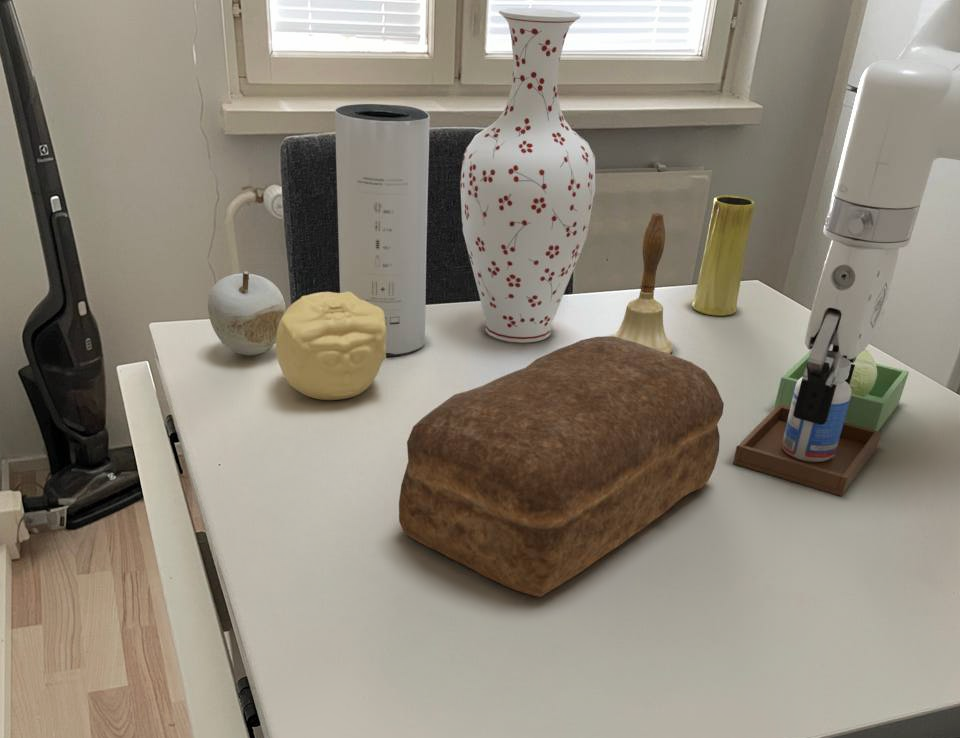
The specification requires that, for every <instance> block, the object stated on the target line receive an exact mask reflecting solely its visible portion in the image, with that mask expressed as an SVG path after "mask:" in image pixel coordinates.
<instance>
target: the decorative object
mask: <svg viewBox="0 0 960 738" xmlns="http://www.w3.org/2000/svg"><path fill="white" fill-rule="evenodd" d="M207 311H208V316H209V321H210V324H211V327H212V330H213V331H214V333H215V335H216V336H217V338H218V339H219V341H220V342H221V343H222V345H224V346H225V347H226V348H227V349H229V350H231V351H232V352H234V353H236V354H239V355H242V356H256V355H261V354H263V353H265V352H267V351H269V350H271V348H273V346H274V345H276V334H277V329H278V325H279V322H280V320H281V318H282V316H283V314H284V313H285V311H286V302H285V299H284V297H283V294H282V292H281V291H280V289H279V288H278V287H277V285H275V284H274V283H273V282H272V281H271V280H270V279H268V278H266V277H263V276H261V275H258V274H254V273H253V274H252V273H250V272H249V271H248V270H244V271H243V272H242V273H234V274H231V275H228V276H225V277H223V278H221V279H220V280H218V281H217V282H216V283H215V284H214V285H213V287H212V288H211V290H210V292H209V295H208V300H207Z"/></svg>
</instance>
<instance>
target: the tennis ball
mask: <svg viewBox="0 0 960 738" xmlns="http://www.w3.org/2000/svg"><path fill="white" fill-rule="evenodd" d="M875 363H876V361H875V359H874V358H873V355H872V354H871V353H870V352H869V351H868V350H867V349H866V348H865V349H864V350H863V351H862V352H861V353H860V354H859V355H858V356H857V357H856V360H855V362H854V363H851V364H854V365H855V367H854V371H853V374H852V378H851V381H850V387H851V394H855V395H859V396H863V397H866V396H867V395H868V394H869V393H870V391H871V390H872V388H873V386H874V384H875V381H876V378H877V368H876V364H877V363H876V364H875Z"/></svg>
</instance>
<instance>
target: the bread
mask: <svg viewBox="0 0 960 738" xmlns="http://www.w3.org/2000/svg"><path fill="white" fill-rule="evenodd" d="M724 405H725V403H724V401H723V399H722V397H721V394H720V392H719V390H718V387H717V386H716V384H715V383H714V381H713V379H712V378H711V376H710V375H709V373H708V372H707V371H706V370H704V369H703V368H702V367H700V366H698V365H697V364H695V363H693V362H692V361H689V360H686V359H685V358H681V357H678V356H675V355H673V354H672V353H670V354H668V353H665V352H661V351H658V350H655V349H653V348H650V347H647V346H644V345H641V344H639V343H635V342H632V341H628V340H625V339H621V338H618V337H614V336H612V335H608V336H607V335H606V336H594V337H589V338H585V339H581V340H579V341H576V342H573V343H571V344H569V345H566V346H563V347H560V348H557V349H556V350H554V351H551V352H548V353H547V354H544V355H543V356H540V357H538V358H536V359H535V360H533V361H532V362H531V363H530V364H528V365H527V366H525V367H523V368H520V369H518V370H515V371H513V372H509V373H507V374H505V375H503V376H500V377H498V378H495V379H493V380H491V381H489V382H488V383H485V384H483V385H480V386H478V387H475V388H473V389H469V390H467V391H462V392H458V393H456V394H453V395H452V396H450V397H449V398H448V399H446V400H445V401H443V402H442V403H441V404H439V405H438V406H436V407H435V408H434V409H432V410H431V411H430V412H428V413H427V414H426V415H425V416H423V417H422V418H420V420H419V421H418V422H417V423H415V424H414V425H413V426H412V429H411V431H410V434H409V436H408V439H407V441H406V448H407V449H406V450H407V464H406V468H405V471H404V474H403V478H402V481H401V484H400V491H399V492H400V493H399V499H398V522H399V524H400V527H401V529H402V533H404V534H405V535H406V536H408V537H409V538H411V539H413V540H414V541H416V542H418V543H420V544H422V545H423V546H425V547H428V548H429V549H431V550H434V551H436V552H437V553H439V554H441V555H443V556H445V557H448V558H449V559H451V560H453V561H455V562H457V563H459V564H461V565H463V566H465V567H467V568H469V569H471V570H473V571H475V572H476V573H478V574H480V575H482V576H484V577H486V578H487V579H490V580H492V581H493V582H496V583H498V584H500V585H503V586H504V587H507V588H509V589H511V590H513V591H516V592H519V593H523V594H525V595H530V596H534V597H537V598H541V597H543V596H544V595H546V594H547V593H549V592H551V591H552V590H554V589H556V588H557V587H560V586H561V585H563V584H565V583H566V582H567V581H569V580H570V579H572V578H574V577H576V576H577V575H578V574H580V573H582V572H583V571H585V570H587V568H589V567H590V566H592V565H593V564H594V563H596V562H597V561H598V560H600V559H601V558H603V557H605V555H607V554H608V553H610V552H612V551H614V549H616V548H618V547H620V546H621V545H622V544H623V543H625V542H626V541H628V539H630V538H631V537H632V536H635V535H636V534H637V533H639V532H640V531H642V530H643V529H645V528H646V527H647V526H649V525H650V524H651V523H652V522H653V521H655V520H656V519H658V518H659V517H661V516H663V514H665V513H666V512H667V511H668V510H670V509H671V508H672V507H673V506H674V505H675V504H676V503H678V502H679V501H680V500H681V499H682V498H684V497H685V496H688V495H689V494H691V493H693V492H695V491H697V490H699V489H701V488H703V487H704V486H705V485H706V484H707V483H708V482H709V480H710V478H711V476H712V474H713V472H714V469H715V468H716V464H717V461H718V457H719V452H720V440H721V438H720V437H721V436H720V435H721V434H720V431H719V427H718V424H719V422H720V420H721V418H722V416H723V413H724Z"/></svg>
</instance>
